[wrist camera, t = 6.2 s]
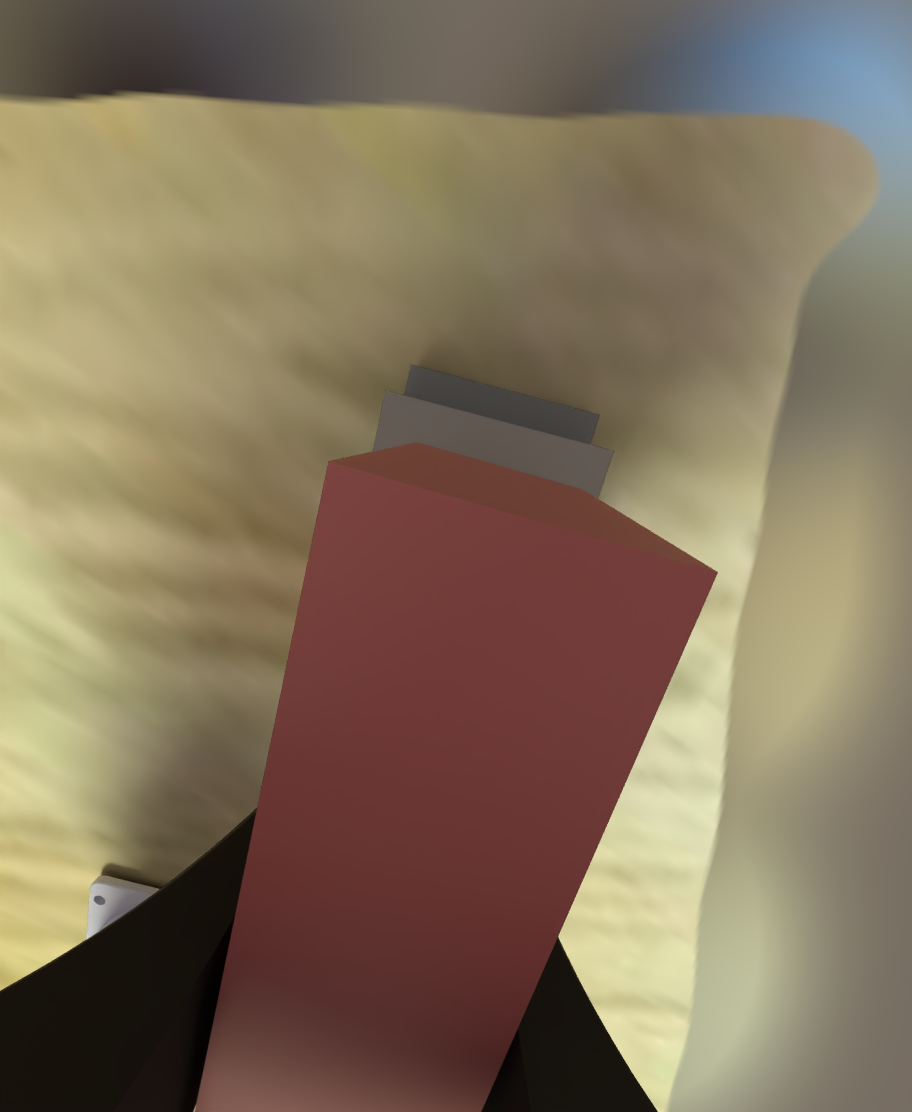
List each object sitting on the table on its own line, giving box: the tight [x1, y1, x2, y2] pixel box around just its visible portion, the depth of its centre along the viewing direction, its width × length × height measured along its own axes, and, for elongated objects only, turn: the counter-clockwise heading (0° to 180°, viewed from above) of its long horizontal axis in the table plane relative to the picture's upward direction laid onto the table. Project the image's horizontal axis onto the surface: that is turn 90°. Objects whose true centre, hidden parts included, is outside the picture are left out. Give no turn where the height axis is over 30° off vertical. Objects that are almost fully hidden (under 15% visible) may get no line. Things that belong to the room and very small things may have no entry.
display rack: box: [373, 365, 614, 499], centre depth 17 cm, size 20×6×4 cm, turn 166°
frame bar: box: [195, 442, 718, 1112], centre depth 9 cm, size 16×4×6 cm, turn 164°
